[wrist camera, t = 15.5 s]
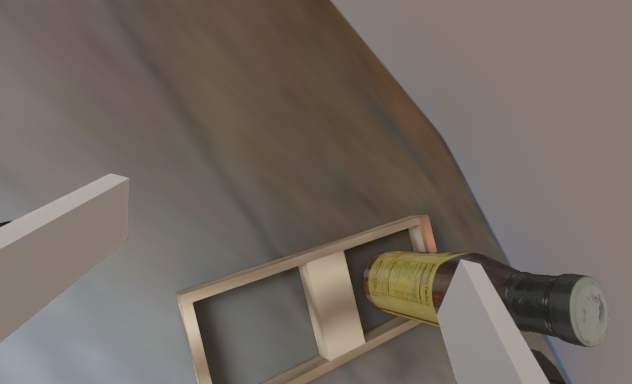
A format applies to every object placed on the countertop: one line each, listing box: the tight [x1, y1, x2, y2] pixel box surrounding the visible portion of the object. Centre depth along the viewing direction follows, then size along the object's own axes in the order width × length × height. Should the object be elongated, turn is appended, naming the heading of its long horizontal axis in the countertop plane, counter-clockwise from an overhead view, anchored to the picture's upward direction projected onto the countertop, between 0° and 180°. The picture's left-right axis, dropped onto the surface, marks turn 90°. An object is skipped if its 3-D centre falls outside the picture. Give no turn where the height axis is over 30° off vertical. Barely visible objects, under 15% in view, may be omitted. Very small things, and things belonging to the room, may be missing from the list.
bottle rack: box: [176, 215, 437, 384], centre depth 34 cm, size 11×26×3 cm, turn 106°
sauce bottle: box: [362, 251, 609, 347], centre depth 30 cm, size 7×6×20 cm
